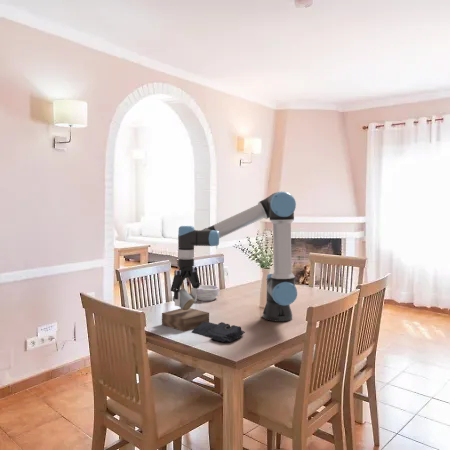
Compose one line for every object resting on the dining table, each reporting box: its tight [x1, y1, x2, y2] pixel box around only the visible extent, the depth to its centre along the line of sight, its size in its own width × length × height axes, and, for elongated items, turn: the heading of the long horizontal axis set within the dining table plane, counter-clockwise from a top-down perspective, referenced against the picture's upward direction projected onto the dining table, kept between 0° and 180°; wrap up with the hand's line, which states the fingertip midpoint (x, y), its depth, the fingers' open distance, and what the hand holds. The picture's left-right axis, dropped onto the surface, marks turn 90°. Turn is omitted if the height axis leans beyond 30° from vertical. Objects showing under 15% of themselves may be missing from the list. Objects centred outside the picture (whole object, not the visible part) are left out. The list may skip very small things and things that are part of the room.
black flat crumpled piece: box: [191, 321, 246, 343], centre depth 189 cm, size 15×22×5 cm
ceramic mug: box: [172, 288, 195, 310], centre depth 201 cm, size 11×8×8 cm
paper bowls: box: [197, 284, 220, 302], centre depth 255 cm, size 15×15×8 cm
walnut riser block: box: [161, 307, 210, 332], centre depth 202 cm, size 16×16×6 cm
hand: (185, 303), depth 202 cm, fingers closed on ceramic mug, 11 cm apart
